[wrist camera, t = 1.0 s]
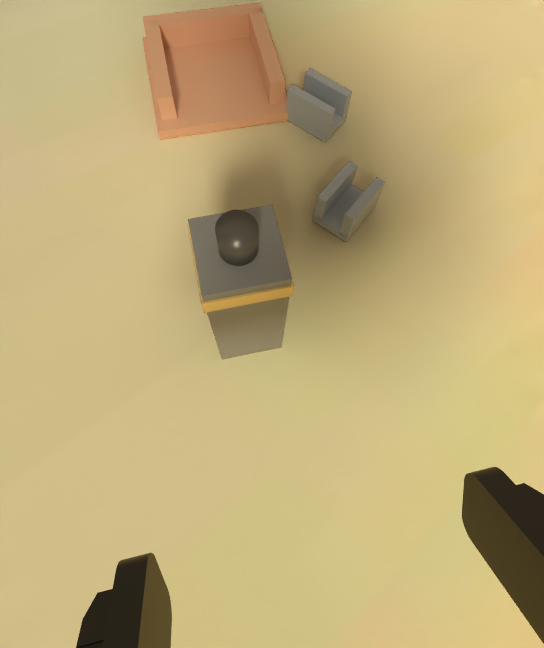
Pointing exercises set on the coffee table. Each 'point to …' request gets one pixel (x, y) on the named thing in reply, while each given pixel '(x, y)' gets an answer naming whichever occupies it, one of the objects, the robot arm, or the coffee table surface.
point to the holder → (213, 70)
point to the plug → (242, 278)
